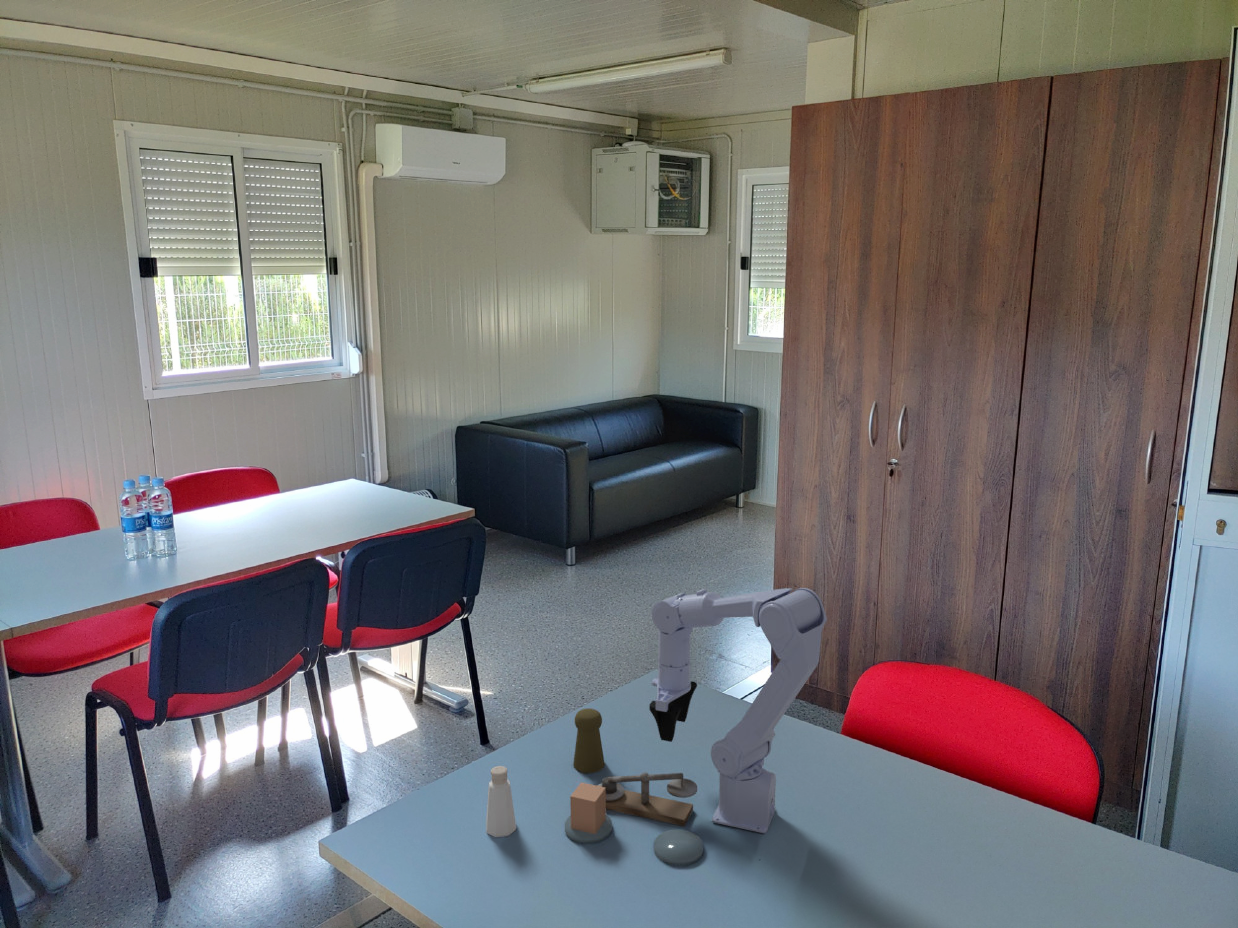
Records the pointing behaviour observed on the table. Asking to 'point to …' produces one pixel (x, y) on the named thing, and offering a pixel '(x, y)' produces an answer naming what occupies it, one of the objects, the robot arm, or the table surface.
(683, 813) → the balance
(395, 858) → the table surface
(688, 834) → the smooth grey pebble
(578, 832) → the grey dome
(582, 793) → the block
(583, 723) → the cork
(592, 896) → the table surface
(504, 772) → the salt shaker
